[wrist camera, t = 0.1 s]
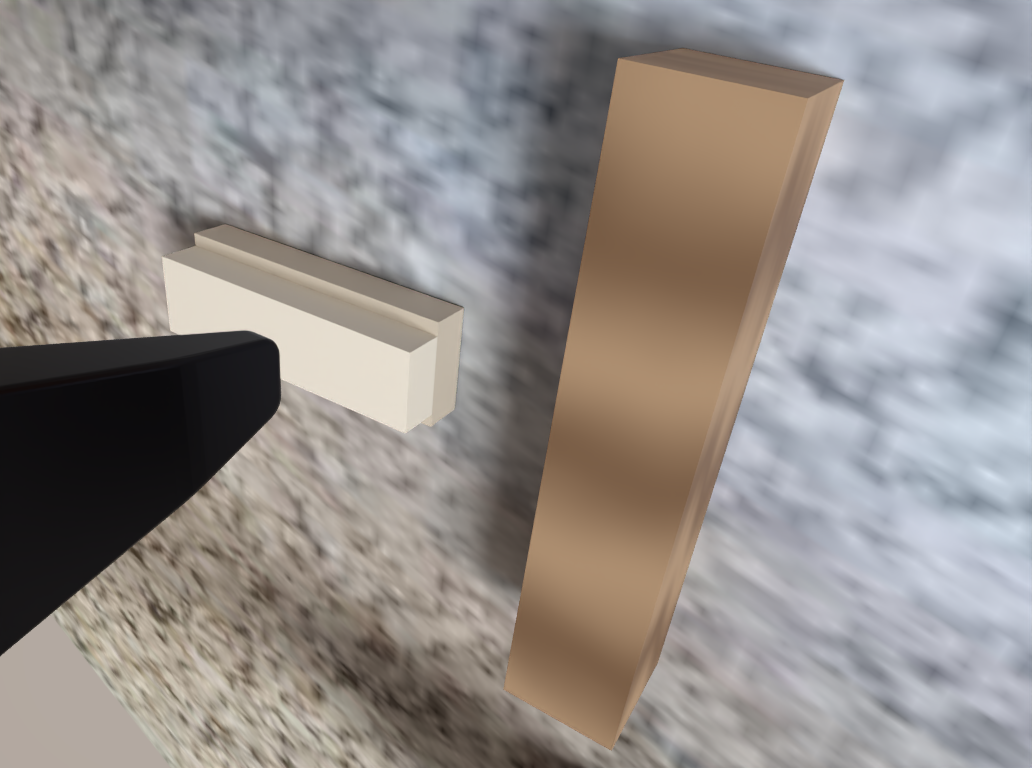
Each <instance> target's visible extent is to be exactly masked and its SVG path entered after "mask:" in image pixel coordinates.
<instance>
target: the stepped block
mask: <svg viewBox="0 0 1032 768" xmlns="http://www.w3.org/2000/svg"><path fill="white" fill-rule="evenodd" d="M194 236H195V246H193V247H190V248H187V249H184V250H180V251H177V252H174V253H171V254H167V255H164V256H162V262H163V271H164V279H165V288H166V297H167V306H168V315H169V324H170V331H172V332H175V333H177V334H179V335H185V334H199V333H213V332H227V331H241V330H248V331H252V332H255V333H257V334H260V335H262V336H264V337H267V338H269V339H271V340H273V341H274V342H275V343H276V344H277V347H278V349H279V353H280V378H281V379H282V380H284V381H287V382H289V383H291V384H293V385H296V386H298V387H300V388H302V389H305V390H307V391H309V392H312V393H314V394H316V395H318V396H321V397H323V398H325V399H328V400H330V401H332V402H334V403H337V404H339V405H341V406H344V407H346V408H348V409H350V410H353V411H355V412H357V413H360V414H362V415H364V416H366V417H369V418H371V419H373V420H376V421H378V422H380V423H382V424H385V425H387V426H389V427H392V428H394V429H396V430H398V431H401V432H403V433H405V434H406V433H407V432H408V431H410V430H411V429H413V428H414V427H415V426H417V425H418V424H420V423H423V424H425V425H428V426H430V427H431V426H433V425H434V424H435V423H437V422H438V421H439V420H441V419H442V418H443V417H445V416H446V415H447V414H449V413H450V412H452V411H453V410H454V409H455V401H456V390H457V379H458V368H459V357H460V346H461V335H462V324H463V313H464V308H462V307H460V306H457V305H454V304H451V303H448V302H445V301H443V300H440V299H437V298H434V297H431V296H428V295H425V294H423V293H420V292H417V291H414V290H411V289H408V288H406V287H403V286H400V285H397V284H394V283H391V282H389V281H386V280H383V279H380V278H377V277H374V276H372V275H369V274H366V273H363V272H360V271H357V270H354V269H352V268H349V267H346V266H343V265H340V264H337V263H335V262H332V261H329V260H326V259H323V258H320V257H318V256H315V255H312V254H309V253H306V252H303V251H301V250H298V249H295V248H292V247H289V246H286V245H283V244H281V243H278V242H275V241H272V240H269V239H266V238H264V237H261V236H258V235H255V234H252V233H249V232H247V231H244V230H241V229H238V228H235V227H232V226H230V225H227V224H224V225H221V226H217V227H214V228H210V229H207V230H204V231H200V232H197V233H194Z"/></svg>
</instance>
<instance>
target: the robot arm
mask: <svg viewBox="0 0 1032 768" xmlns="http://www.w3.org/2000/svg"><path fill="white" fill-rule="evenodd" d="M280 401H281V378H280V353H279V349H278V347H277V344H276V343H275V342H274V341H273V340H271V339H269V338H267V337H264V336H262V335H260V334H257V333H255V332H252V331H248V330H241V331H227V332H213V333H199V334H185V335H171V336H157V337H143V338H130V339H116V340H102V341H88V342H74V343H60V344H46V345H32V346H18V347H4V348H0V656H1V655H2V654H3V653H5V652H6V651H7V650H8V649H9V648H11V647H12V646H13V645H14V644H15V643H17V642H18V641H19V640H20V639H21V638H23V637H24V636H25V635H26V634H27V633H29V632H30V631H31V630H32V629H33V628H35V627H36V626H37V625H38V624H40V623H41V622H42V621H43V620H44V619H46V618H47V617H48V616H49V615H50V614H52V613H53V612H54V611H55V610H56V609H58V608H59V607H60V606H61V605H62V604H64V603H65V602H66V601H67V600H68V599H70V598H71V597H72V596H73V595H74V594H76V593H77V592H78V591H79V590H80V589H82V588H83V587H84V586H85V585H87V584H88V583H89V582H90V581H91V580H93V579H94V578H95V577H96V576H97V575H99V574H100V573H101V572H102V571H103V570H105V569H106V568H107V567H108V566H109V565H111V564H112V563H113V562H114V561H115V560H117V559H118V558H119V557H120V556H121V555H123V554H124V553H125V552H126V551H127V550H129V549H130V548H131V547H132V546H134V545H135V544H136V543H137V542H138V541H140V540H141V539H142V538H143V537H144V536H146V535H147V534H148V533H149V532H150V531H152V530H153V529H154V528H155V527H156V526H158V525H159V524H160V523H161V522H162V521H164V520H165V519H166V518H167V517H168V516H170V515H171V514H172V513H173V512H175V511H176V510H177V509H178V508H179V507H180V506H182V505H183V504H184V503H185V502H186V501H187V500H189V499H190V498H191V497H192V496H193V495H194V494H195V493H196V492H197V491H198V490H199V489H201V488H202V487H203V486H204V485H205V484H206V483H207V482H208V481H209V480H210V479H211V478H212V477H213V476H214V475H215V474H216V473H217V472H218V471H219V470H220V469H221V468H222V467H223V466H224V465H225V464H226V463H227V462H228V461H229V460H230V459H231V458H232V457H233V456H234V455H235V454H236V453H237V452H238V451H239V450H240V449H241V448H242V447H243V446H244V445H245V444H246V443H247V442H248V441H249V440H250V439H251V438H252V437H253V436H254V435H255V434H256V433H257V432H258V431H259V430H260V429H261V428H262V427H263V426H264V425H265V424H266V423H267V422H268V421H269V420H270V419H271V418H272V417H273V415H274V414H275V413H276V411H277V409H278V407H279V405H280Z"/></svg>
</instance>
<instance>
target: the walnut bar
mask: <svg viewBox="0 0 1032 768" xmlns="http://www.w3.org/2000/svg"><path fill="white" fill-rule="evenodd" d="M843 82H844V80H841V79H836V78H831V77H826V76H821V75H816V74H811V73H806V72H801V71H796V70H791V69H786V68H781V67H776V66H771V65H766V64H761V63H756V62H751V61H746V60H741V59H736V58H731V57H726V56H721V55H716V54H711V53H706V52H700V51H695V50H690V49H685V48H680V49H673V50H667V51H661V52H654V53H648V54H642V55H635V56H629V57H623V58H618V62H617V67H616V73H615V78H614V84H613V89H612V95H611V100H610V106H609V111H608V117H607V122H606V128H605V133H604V139H603V144H602V150H601V155H600V161H599V166H598V172H597V177H596V183H595V188H594V194H593V199H592V205H591V210H590V216H589V221H588V227H587V232H586V238H585V243H584V249H583V254H582V260H581V265H580V271H579V276H578V282H577V287H576V293H575V298H574V304H573V309H572V315H571V320H570V326H569V331H568V337H567V342H566V348H565V353H564V359H563V364H562V370H561V375H560V381H559V386H558V392H557V398H556V403H555V409H554V414H553V420H552V425H551V431H550V436H549V442H548V447H547V453H546V458H545V464H544V469H543V475H542V480H541V486H540V491H539V497H538V502H537V508H536V513H535V519H534V524H533V530H532V535H531V541H530V546H529V552H528V557H527V563H526V568H525V574H524V579H523V585H522V590H521V596H520V601H519V607H518V612H517V618H516V623H515V629H514V634H513V640H512V645H511V651H510V656H509V662H508V667H507V673H506V678H505V684H504V690H506V691H507V692H509V693H511V694H513V695H514V696H516V697H518V698H520V699H521V700H523V701H525V702H527V703H528V704H530V705H532V706H534V707H535V708H537V709H539V710H541V711H542V712H544V713H546V714H548V715H549V716H551V717H553V718H555V719H557V720H558V721H560V722H562V723H564V724H565V725H567V726H569V727H571V728H572V729H574V730H576V731H578V732H579V733H581V734H583V735H585V736H586V737H588V738H590V739H592V740H593V741H595V742H597V743H599V744H600V745H602V746H604V747H606V748H608V749H609V750H612V748H613V747H614V745H615V743H616V741H617V739H618V737H619V735H620V733H621V731H622V730H623V728H624V726H625V724H626V722H627V720H628V718H629V716H630V714H631V712H632V711H633V709H634V707H635V705H636V703H637V701H638V699H639V697H640V695H641V693H642V692H643V690H644V688H645V686H646V684H647V682H648V680H649V678H650V676H651V675H652V673H653V671H654V669H655V667H656V665H657V663H658V660H659V657H660V654H661V651H662V648H663V644H664V641H665V638H666V635H667V632H668V629H669V626H670V623H671V620H672V616H673V613H674V610H675V607H676V604H677V601H678V598H679V595H680V591H681V588H682V585H683V582H684V579H685V576H686V573H687V570H688V566H689V563H690V560H691V557H692V554H693V551H694V548H695V545H696V541H697V538H698V535H699V532H700V529H701V526H702V523H703V520H704V516H705V513H706V510H707V507H708V504H709V501H710V498H711V495H712V491H713V488H714V485H715V482H716V479H717V476H718V473H719V470H720V466H721V463H722V460H723V457H724V454H725V451H726V448H727V445H728V441H729V438H730V435H731V432H732V429H733V426H734V423H735V420H736V416H737V413H738V410H739V407H740V404H741V401H742V398H743V395H744V392H745V388H746V385H747V382H748V379H749V376H750V373H751V370H752V367H753V363H754V360H755V357H756V354H757V351H758V348H759V345H760V342H761V338H762V335H763V332H764V329H765V326H766V323H767V320H768V317H769V313H770V310H771V307H772V304H773V301H774V298H775V295H776V292H777V288H778V285H779V282H780V279H781V276H782V273H783V270H784V267H785V263H786V260H787V257H788V254H789V251H790V248H791V245H792V242H793V238H794V235H795V232H796V229H797V226H798V223H799V220H800V217H801V213H802V210H803V207H804V204H805V201H806V198H807V195H808V192H809V188H810V185H811V182H812V179H813V176H814V173H815V170H816V167H817V164H818V160H819V157H820V154H821V151H822V148H823V145H824V142H825V139H826V135H827V132H828V129H829V126H830V123H831V120H832V117H833V114H834V110H835V107H836V104H837V101H838V98H839V95H840V92H841V89H842V85H843Z"/></svg>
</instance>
